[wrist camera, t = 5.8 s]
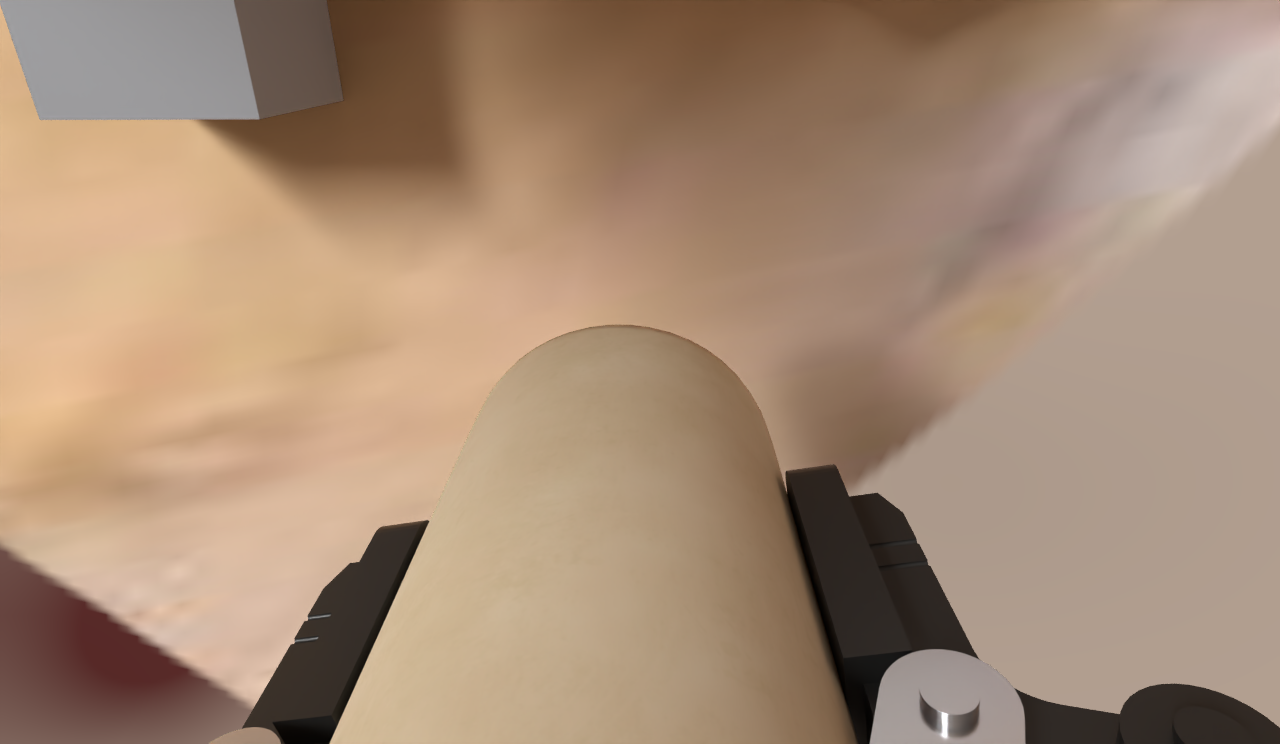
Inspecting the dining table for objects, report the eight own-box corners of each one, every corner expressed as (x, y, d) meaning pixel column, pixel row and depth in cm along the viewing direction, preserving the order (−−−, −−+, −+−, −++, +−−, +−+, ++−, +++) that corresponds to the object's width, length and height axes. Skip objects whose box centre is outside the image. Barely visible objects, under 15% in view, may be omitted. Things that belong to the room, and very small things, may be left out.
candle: (516, 278, 12) (102, 1045, 3) (818, 374, 13) (1225, 1233, 4) (448, 528, 14) (98, 1385, 5) (707, 597, 15) (788, 1462, 6)
